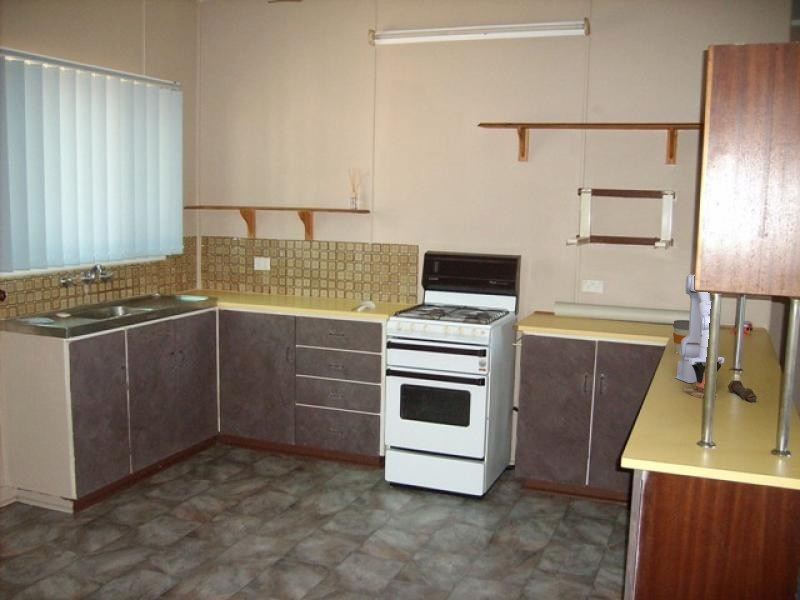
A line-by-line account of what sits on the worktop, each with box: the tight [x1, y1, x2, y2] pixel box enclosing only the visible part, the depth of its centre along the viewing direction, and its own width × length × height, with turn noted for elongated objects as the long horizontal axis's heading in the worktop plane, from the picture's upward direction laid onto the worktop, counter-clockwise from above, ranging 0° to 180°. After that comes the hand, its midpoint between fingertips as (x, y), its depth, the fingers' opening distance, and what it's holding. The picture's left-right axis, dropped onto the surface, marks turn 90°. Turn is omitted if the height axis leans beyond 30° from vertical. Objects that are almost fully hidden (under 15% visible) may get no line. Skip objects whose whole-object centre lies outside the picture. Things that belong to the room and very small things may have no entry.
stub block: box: [681, 382, 718, 399], centre depth 303 cm, size 10×8×4 cm
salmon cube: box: [696, 371, 706, 388], centre depth 300 cm, size 5×5×5 cm
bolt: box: [727, 379, 758, 403], centre depth 300 cm, size 6×5×15 cm
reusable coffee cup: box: [672, 319, 699, 353], centre depth 379 cm, size 13×13×15 cm
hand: (705, 382), depth 300 cm, fingers closed on salmon cube, 5 cm apart
